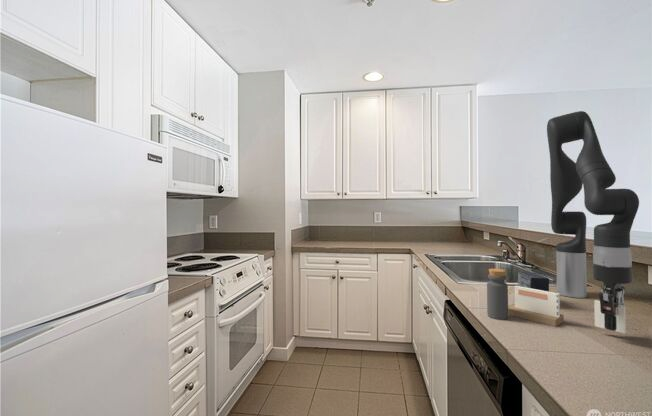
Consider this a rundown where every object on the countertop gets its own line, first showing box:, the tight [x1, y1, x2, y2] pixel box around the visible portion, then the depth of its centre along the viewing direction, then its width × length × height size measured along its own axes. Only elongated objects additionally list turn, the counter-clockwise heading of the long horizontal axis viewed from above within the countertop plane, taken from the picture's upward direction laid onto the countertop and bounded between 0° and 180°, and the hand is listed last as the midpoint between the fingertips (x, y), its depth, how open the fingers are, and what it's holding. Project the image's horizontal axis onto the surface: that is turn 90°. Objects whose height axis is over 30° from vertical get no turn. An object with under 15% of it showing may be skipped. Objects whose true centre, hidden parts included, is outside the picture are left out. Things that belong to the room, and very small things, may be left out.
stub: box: [593, 299, 627, 334], centre depth 80 cm, size 6×1×7 cm, turn 35°
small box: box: [517, 271, 550, 292], centre depth 110 cm, size 11×6×10 cm, turn 168°
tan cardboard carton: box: [508, 285, 565, 327], centre depth 95 cm, size 14×7×9 cm, turn 35°
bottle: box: [486, 268, 509, 321], centre depth 96 cm, size 6×6×15 cm
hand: (612, 327), depth 80 cm, fingers open, 4 cm apart
